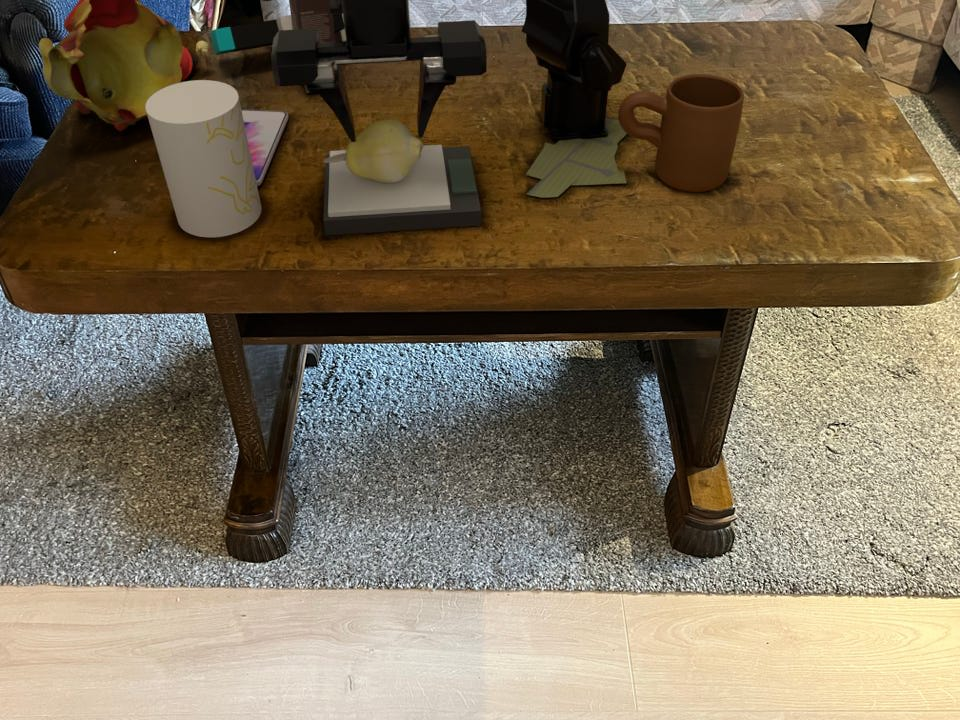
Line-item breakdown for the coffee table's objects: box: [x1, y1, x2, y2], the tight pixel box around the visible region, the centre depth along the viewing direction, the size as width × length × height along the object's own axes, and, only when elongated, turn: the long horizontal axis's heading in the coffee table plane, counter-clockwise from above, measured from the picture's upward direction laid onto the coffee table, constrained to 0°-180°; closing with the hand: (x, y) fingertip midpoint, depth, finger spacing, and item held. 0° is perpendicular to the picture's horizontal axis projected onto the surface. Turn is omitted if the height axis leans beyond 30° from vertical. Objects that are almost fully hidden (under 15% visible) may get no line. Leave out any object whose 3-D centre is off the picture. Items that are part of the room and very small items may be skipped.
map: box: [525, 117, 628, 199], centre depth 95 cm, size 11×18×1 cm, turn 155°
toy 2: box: [209, 14, 346, 56], centre depth 111 cm, size 10×5×20 cm
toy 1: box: [38, 0, 184, 132], centre depth 96 cm, size 15×15×13 cm
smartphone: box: [241, 108, 289, 187], centre depth 96 cm, size 7×1×15 cm
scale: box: [323, 144, 482, 236], centre depth 89 cm, size 15×12×2 cm
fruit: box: [323, 118, 424, 183], centre depth 86 cm, size 6×6×10 cm
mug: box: [617, 73, 745, 193], centre depth 89 cm, size 12×8×9 cm, turn 87°
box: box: [288, 0, 336, 94], centre depth 104 cm, size 6×4×12 cm
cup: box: [145, 79, 262, 238], centre depth 84 cm, size 8×8×12 cm
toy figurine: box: [179, 40, 210, 82], centre depth 107 cm, size 8×4×8 cm
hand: (387, 137), depth 85 cm, fingers closed on fruit, 6 cm apart
